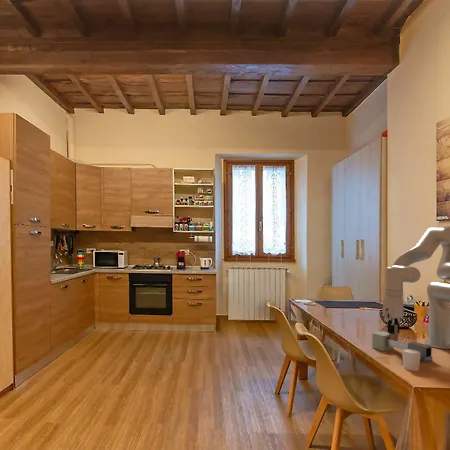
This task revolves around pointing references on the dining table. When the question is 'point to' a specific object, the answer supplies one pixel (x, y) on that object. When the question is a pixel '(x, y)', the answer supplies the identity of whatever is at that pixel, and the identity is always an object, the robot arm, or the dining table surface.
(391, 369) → the dining table surface
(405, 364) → the shot glass
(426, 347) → the sleeve
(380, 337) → the socket block
